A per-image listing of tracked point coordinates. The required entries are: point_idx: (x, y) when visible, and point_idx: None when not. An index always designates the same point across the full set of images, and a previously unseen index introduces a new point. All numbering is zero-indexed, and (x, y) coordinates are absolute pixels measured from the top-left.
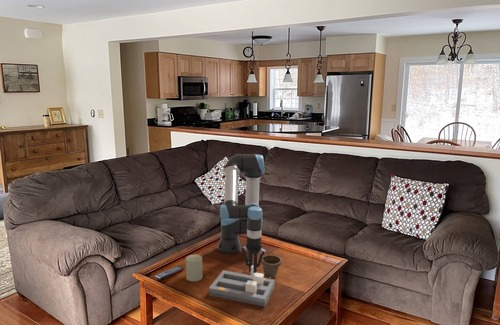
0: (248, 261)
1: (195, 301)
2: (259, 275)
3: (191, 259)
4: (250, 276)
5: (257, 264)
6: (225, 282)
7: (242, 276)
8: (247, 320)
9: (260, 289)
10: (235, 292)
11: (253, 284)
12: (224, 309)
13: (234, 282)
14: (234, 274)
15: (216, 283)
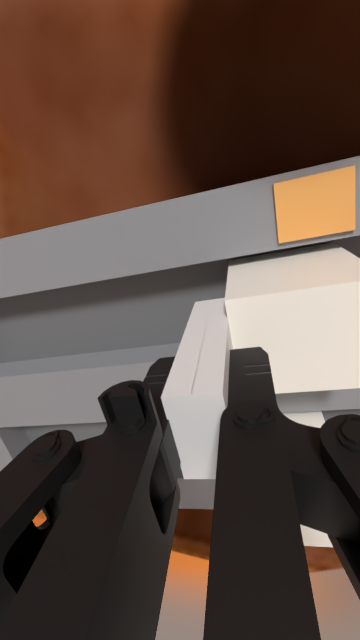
0: (45, 495)
1: (38, 516)
2: (325, 351)
3: None
4: (152, 233)
5: (356, 587)
6: (42, 423)
7: (84, 279)
8: (339, 568)
9: (358, 407)
10: (182, 500)
11: (324, 536)
12: (188, 530)
13: (94, 399)
14: (2, 283)
15: (8, 454)
